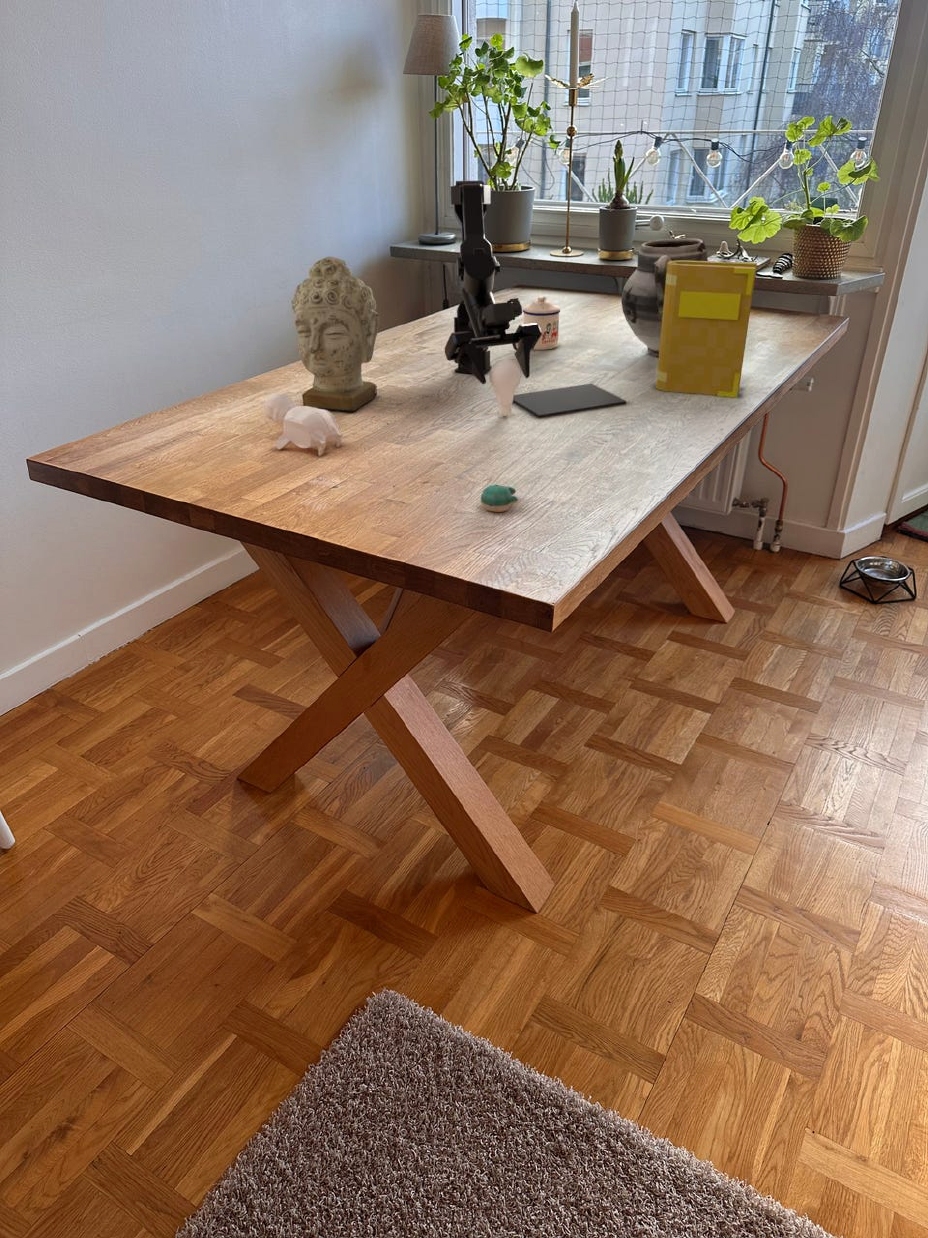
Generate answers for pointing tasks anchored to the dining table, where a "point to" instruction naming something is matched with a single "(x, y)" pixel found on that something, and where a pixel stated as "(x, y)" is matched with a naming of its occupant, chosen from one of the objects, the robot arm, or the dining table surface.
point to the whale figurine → (498, 498)
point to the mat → (566, 400)
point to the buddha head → (335, 335)
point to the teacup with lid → (544, 322)
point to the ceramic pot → (655, 285)
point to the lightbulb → (505, 383)
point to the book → (704, 326)
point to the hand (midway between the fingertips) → (506, 379)
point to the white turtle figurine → (302, 424)
